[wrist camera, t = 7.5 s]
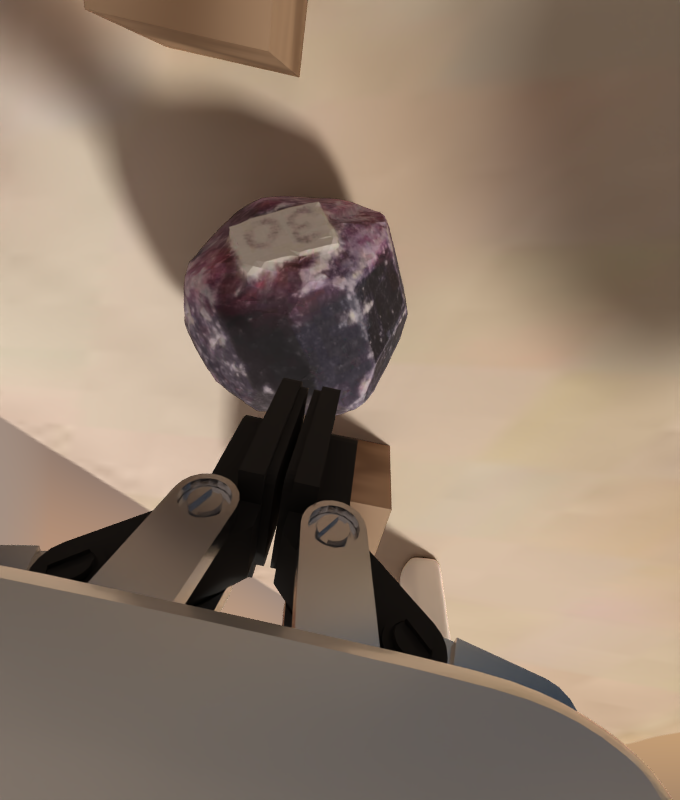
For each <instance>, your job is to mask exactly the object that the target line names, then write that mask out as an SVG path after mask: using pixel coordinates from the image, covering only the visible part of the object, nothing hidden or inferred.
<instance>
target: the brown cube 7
mask: <svg viewBox="0 0 680 800" xmlns="http://www.w3.org/2000/svg"><path fill="white" fill-rule="evenodd" d="M307 3H308V0H84V7H85V9H86V10H88V11H90V12H92V13H94V14H96V15H99V16H101V17H103V18H105V19H107V20H109V21H111V22H114V23H116V24H118V25H120V26H122V27H124V28H127V29H129V30H131V31H133V32H135V33H137V34H140V35H142V36H144V37H146V38H148V39H150V40H153V41H155V42H157V43H159V44H161V45H163V46H166V47H169V48H174V49H178V50H182V51H187V52H191V53H196V54H200V55H204V56H209V57H213V58H217V59H222V60H226V61H231V62H235V63H239V64H244V65H248V66H252V67H257V68H261V69H266V70H270V71H274V72H279V73H283V74H287V75H292V76H296V77H299V76H300V67H301V58H302V49H303V40H304V30H305V21H306V12H307Z"/></svg>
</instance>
